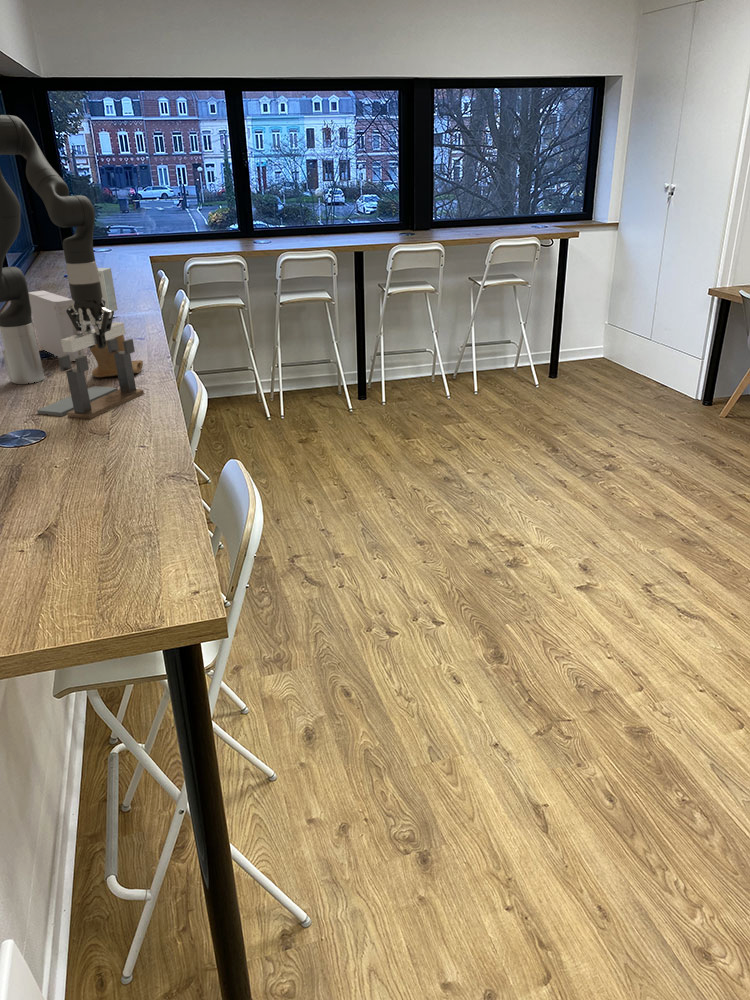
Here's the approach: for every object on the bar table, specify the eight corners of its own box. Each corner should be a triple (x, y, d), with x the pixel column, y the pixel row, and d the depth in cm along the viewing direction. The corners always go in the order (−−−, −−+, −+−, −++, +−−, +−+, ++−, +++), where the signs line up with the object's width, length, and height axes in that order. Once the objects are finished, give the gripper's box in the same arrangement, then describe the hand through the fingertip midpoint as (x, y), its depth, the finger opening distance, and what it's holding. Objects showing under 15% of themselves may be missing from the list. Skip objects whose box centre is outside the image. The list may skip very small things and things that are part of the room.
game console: (68, 363, 247) (55, 302, 239) (39, 349, 266) (26, 292, 258) (85, 360, 251) (73, 299, 242) (55, 347, 270) (43, 290, 261)
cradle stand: (68, 416, 196) (55, 357, 189) (123, 391, 215) (113, 337, 209) (89, 419, 194) (77, 359, 187) (143, 393, 213) (134, 338, 206)
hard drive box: (76, 319, 314) (67, 270, 306) (86, 315, 321) (76, 267, 313) (111, 319, 312) (102, 270, 303) (119, 315, 319) (111, 267, 310)
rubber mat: (37, 413, 199) (37, 410, 199) (95, 389, 219) (94, 385, 218) (61, 416, 197) (61, 412, 196) (117, 391, 216) (117, 387, 216)
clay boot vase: (91, 383, 225) (81, 333, 219) (94, 372, 236) (85, 325, 229) (143, 378, 228) (135, 328, 222) (144, 368, 239) (136, 321, 232)
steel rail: (63, 351, 189) (60, 339, 188) (116, 333, 207) (114, 322, 205) (72, 352, 188) (70, 340, 187) (125, 333, 206) (123, 322, 204)
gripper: (116, 279, 191) (127, 346, 199) (72, 277, 196) (84, 342, 203) (97, 284, 185) (109, 352, 193) (51, 281, 190) (65, 349, 197)
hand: (96, 347), depth 198 cm, fingers closed on steel rail, 3 cm apart
